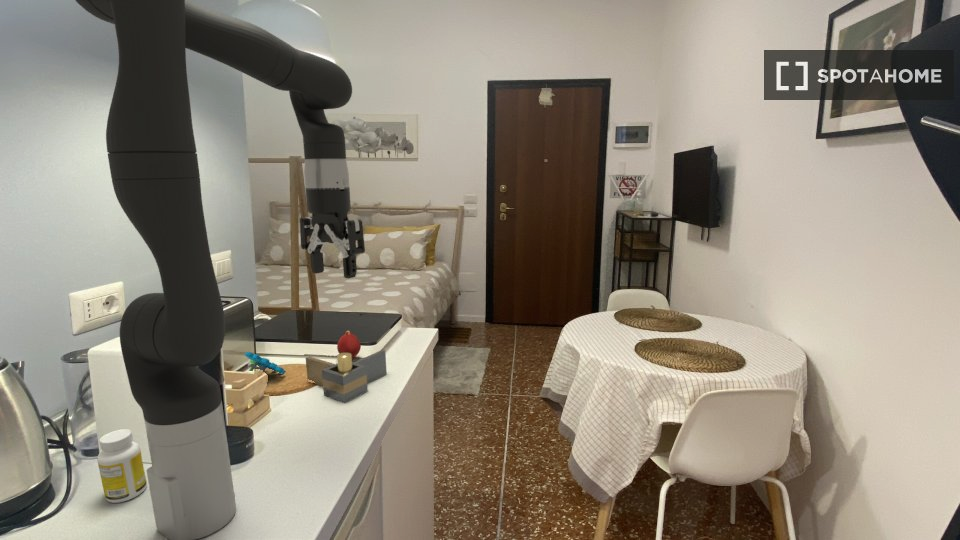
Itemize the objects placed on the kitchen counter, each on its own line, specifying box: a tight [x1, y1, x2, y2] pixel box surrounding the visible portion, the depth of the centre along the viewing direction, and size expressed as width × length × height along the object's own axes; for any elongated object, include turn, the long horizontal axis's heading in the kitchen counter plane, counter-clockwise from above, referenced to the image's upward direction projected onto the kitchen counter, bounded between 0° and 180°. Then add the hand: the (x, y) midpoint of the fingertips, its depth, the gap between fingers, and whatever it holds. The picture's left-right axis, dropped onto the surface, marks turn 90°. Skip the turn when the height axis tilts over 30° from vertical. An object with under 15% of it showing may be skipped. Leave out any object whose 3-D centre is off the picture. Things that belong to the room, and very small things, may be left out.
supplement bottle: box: [97, 428, 148, 504], centre depth 78 cm, size 5×5×10 cm
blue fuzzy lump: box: [244, 351, 286, 375], centre depth 119 cm, size 11×6×10 cm
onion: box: [336, 330, 362, 360], centre depth 129 cm, size 6×6×8 cm
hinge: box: [305, 349, 387, 404], centre depth 117 cm, size 16×16×6 cm
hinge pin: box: [336, 353, 353, 374], centre depth 110 cm, size 3×3×9 cm
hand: (333, 275), depth 93 cm, fingers open, 8 cm apart
